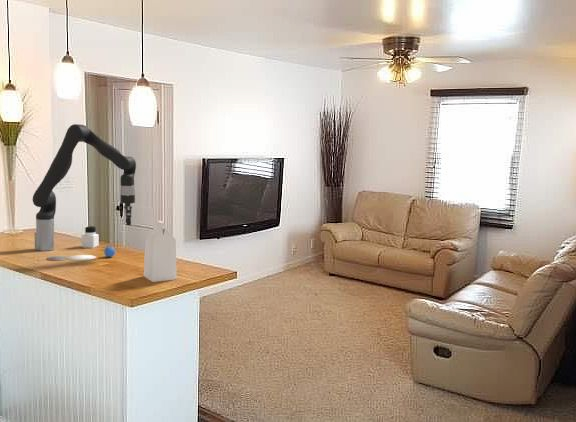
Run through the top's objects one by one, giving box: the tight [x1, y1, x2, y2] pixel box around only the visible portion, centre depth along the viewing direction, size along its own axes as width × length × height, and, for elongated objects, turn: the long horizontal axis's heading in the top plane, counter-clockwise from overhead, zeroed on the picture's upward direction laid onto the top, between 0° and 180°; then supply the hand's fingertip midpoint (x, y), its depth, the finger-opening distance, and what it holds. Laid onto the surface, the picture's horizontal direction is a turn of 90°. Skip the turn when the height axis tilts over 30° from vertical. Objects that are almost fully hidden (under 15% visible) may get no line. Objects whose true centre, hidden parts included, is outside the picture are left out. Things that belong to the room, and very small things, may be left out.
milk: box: [143, 220, 178, 283], centre depth 253 cm, size 12×12×26 cm
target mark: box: [66, 254, 97, 262], centre depth 291 cm, size 14×14×1 cm
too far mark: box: [46, 255, 68, 262], centre depth 287 cm, size 10×10×1 cm
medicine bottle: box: [81, 225, 100, 249], centre depth 321 cm, size 7×7×12 cm
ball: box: [103, 246, 116, 258], centre depth 295 cm, size 6×6×6 cm
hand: (128, 224), depth 298 cm, fingers open, 8 cm apart
